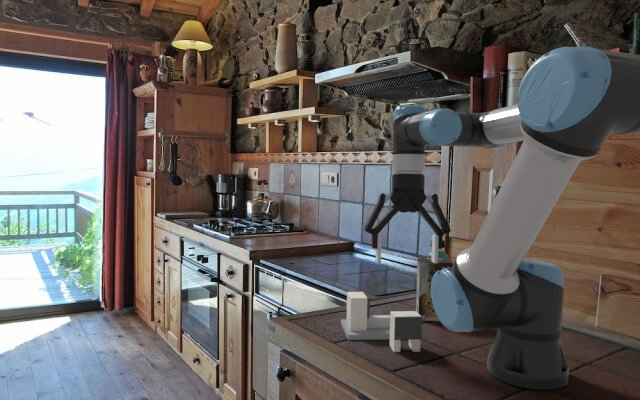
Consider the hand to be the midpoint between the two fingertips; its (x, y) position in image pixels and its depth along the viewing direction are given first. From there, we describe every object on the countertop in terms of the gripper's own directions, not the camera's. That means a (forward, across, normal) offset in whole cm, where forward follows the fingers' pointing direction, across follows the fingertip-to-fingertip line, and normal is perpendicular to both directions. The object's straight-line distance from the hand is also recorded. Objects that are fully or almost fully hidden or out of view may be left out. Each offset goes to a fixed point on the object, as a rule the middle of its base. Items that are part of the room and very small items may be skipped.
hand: (406, 262), depth 119 cm
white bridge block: (+18, +2, +6) cm, 20 cm away
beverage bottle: (+18, -16, -26) cm, 35 cm away
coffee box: (+18, -12, -16) cm, 27 cm away
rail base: (+18, +6, -6) cm, 20 cm away
